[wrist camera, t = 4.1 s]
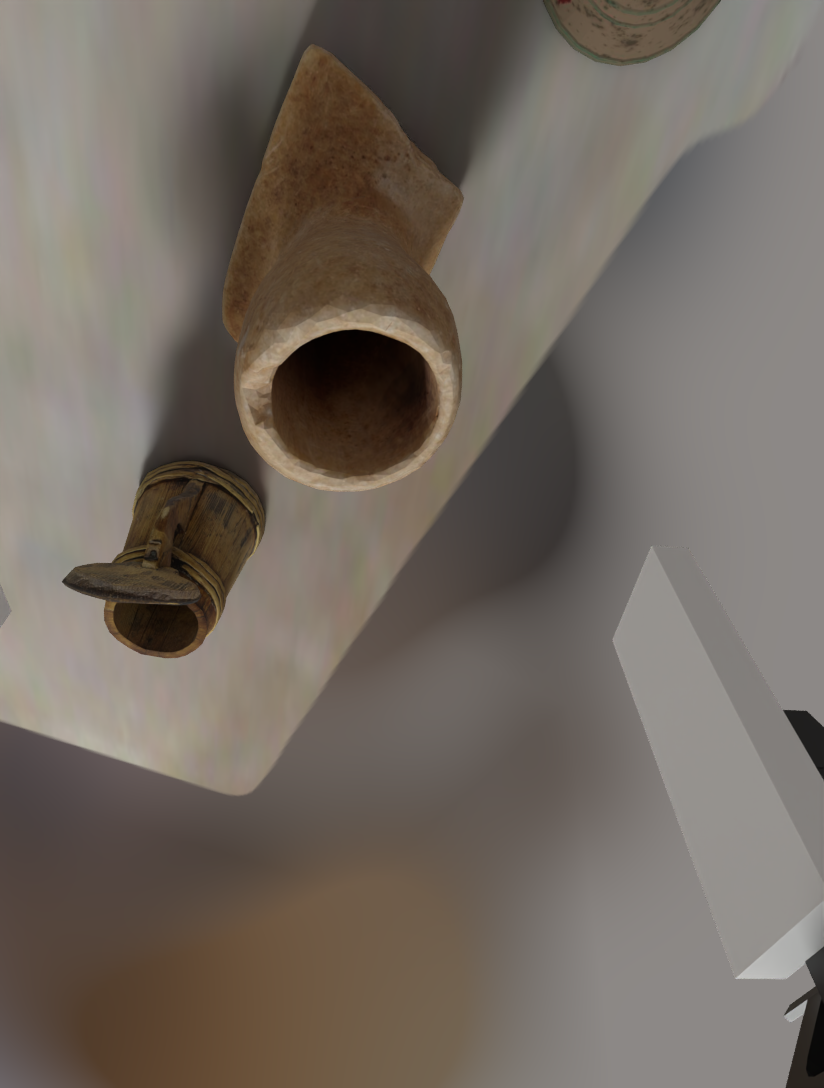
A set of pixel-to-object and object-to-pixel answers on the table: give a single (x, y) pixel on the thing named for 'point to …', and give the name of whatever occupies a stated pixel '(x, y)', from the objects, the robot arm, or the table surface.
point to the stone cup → (343, 291)
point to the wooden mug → (176, 558)
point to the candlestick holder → (627, 26)
